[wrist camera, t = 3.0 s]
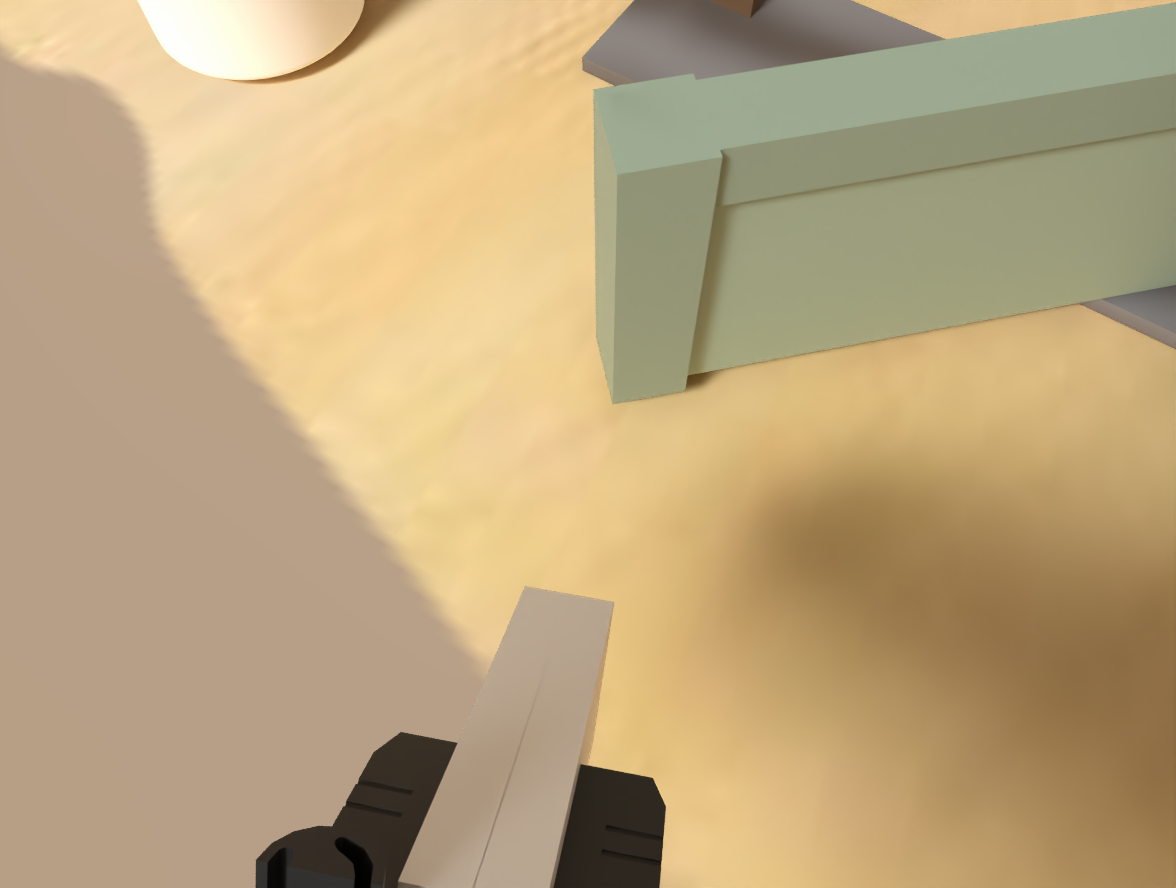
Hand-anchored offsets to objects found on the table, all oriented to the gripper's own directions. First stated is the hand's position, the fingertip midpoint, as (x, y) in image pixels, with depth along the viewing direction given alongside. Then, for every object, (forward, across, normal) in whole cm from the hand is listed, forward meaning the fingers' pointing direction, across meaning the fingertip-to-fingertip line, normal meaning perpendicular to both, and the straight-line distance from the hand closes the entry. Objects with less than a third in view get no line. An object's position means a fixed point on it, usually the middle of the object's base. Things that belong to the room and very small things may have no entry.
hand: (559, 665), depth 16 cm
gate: (+17, +9, +5) cm, 19 cm away
